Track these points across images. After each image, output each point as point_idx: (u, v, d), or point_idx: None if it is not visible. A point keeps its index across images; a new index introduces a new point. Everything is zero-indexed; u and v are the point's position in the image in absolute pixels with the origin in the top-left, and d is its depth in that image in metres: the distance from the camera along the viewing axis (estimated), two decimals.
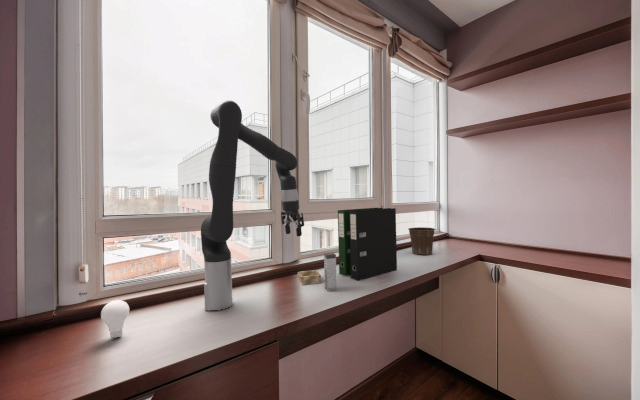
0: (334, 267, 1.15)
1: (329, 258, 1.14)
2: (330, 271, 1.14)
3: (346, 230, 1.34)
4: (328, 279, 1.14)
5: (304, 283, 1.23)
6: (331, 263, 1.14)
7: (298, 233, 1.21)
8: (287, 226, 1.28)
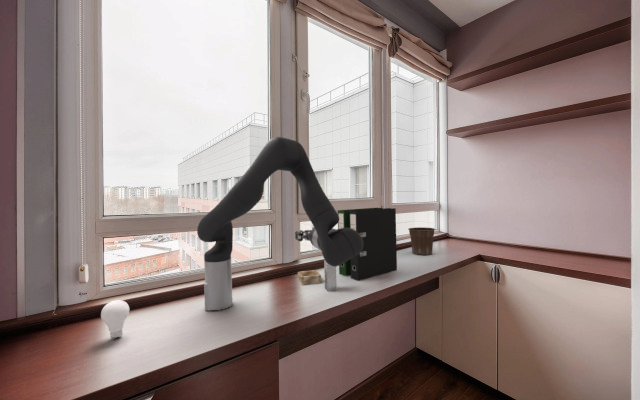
0: (334, 267, 1.15)
1: None
2: (330, 271, 1.14)
3: None
4: (328, 279, 1.14)
5: (304, 283, 1.23)
6: None
7: None
8: None
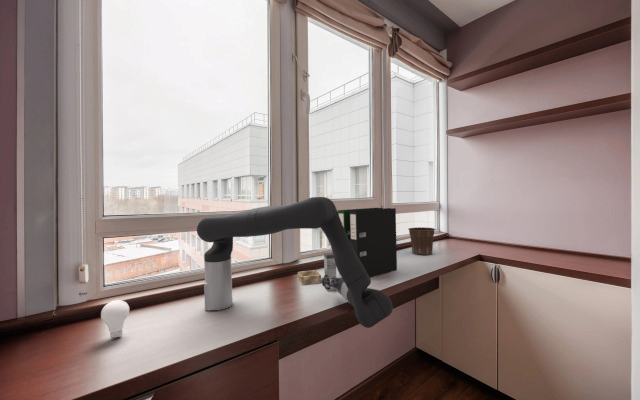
0: (334, 267, 1.15)
1: (329, 258, 1.14)
2: (330, 271, 1.14)
3: (346, 230, 1.34)
4: None
5: (304, 283, 1.23)
6: (331, 263, 1.14)
7: (325, 276, 1.06)
8: None
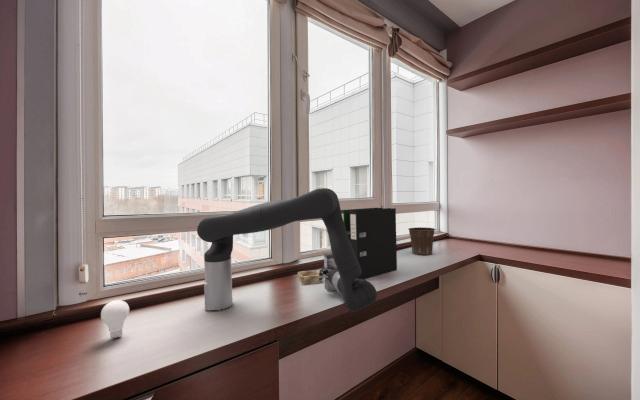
0: (334, 267, 1.15)
1: (329, 258, 1.14)
2: None
3: (346, 230, 1.34)
4: None
5: (304, 283, 1.23)
6: (331, 263, 1.14)
7: (322, 268, 1.17)
8: None
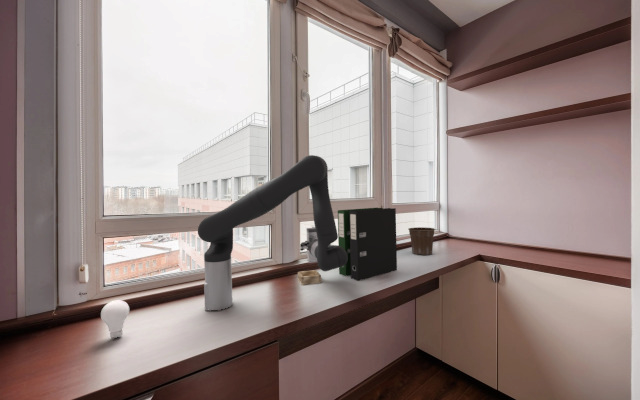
0: None
1: (311, 232, 1.23)
2: None
3: (346, 230, 1.34)
4: None
5: (304, 283, 1.23)
6: (312, 236, 1.23)
7: (305, 242, 1.26)
8: None
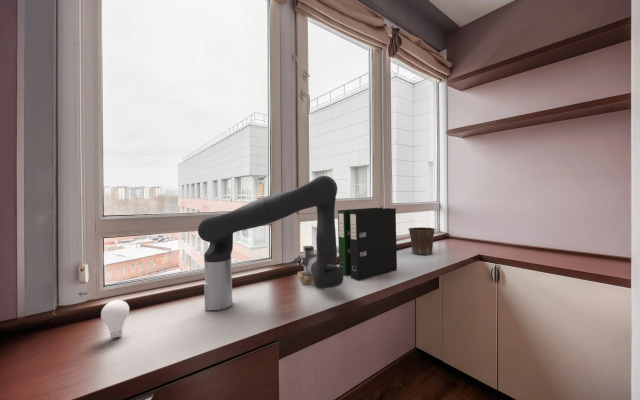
0: None
1: (307, 250, 1.26)
2: None
3: (346, 230, 1.34)
4: (306, 269, 1.26)
5: (304, 283, 1.23)
6: (309, 255, 1.26)
7: (298, 257, 1.27)
8: None
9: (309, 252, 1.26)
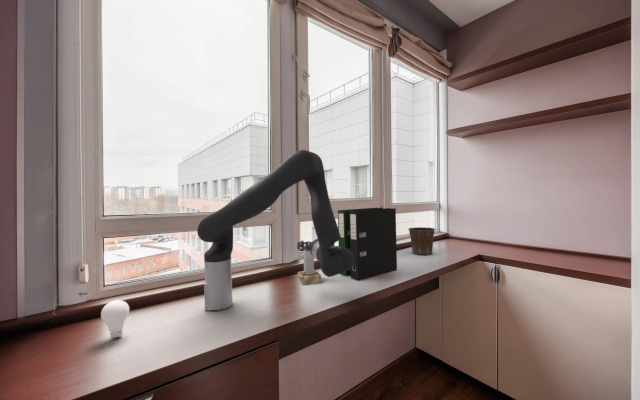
0: (312, 258, 1.26)
1: None
2: (308, 262, 1.26)
3: (346, 230, 1.34)
4: (306, 269, 1.26)
5: (304, 283, 1.23)
6: (309, 255, 1.26)
7: None
8: None
9: (309, 252, 1.26)
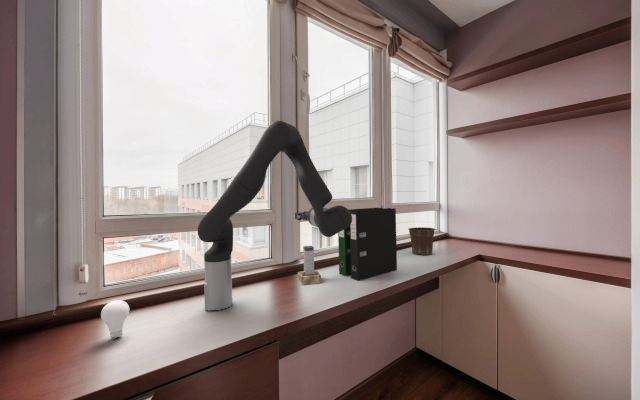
0: (312, 258, 1.26)
1: (307, 250, 1.26)
2: (308, 262, 1.26)
3: (346, 230, 1.34)
4: (306, 269, 1.26)
5: (304, 283, 1.23)
6: (309, 255, 1.26)
7: None
8: None
9: (309, 252, 1.26)
